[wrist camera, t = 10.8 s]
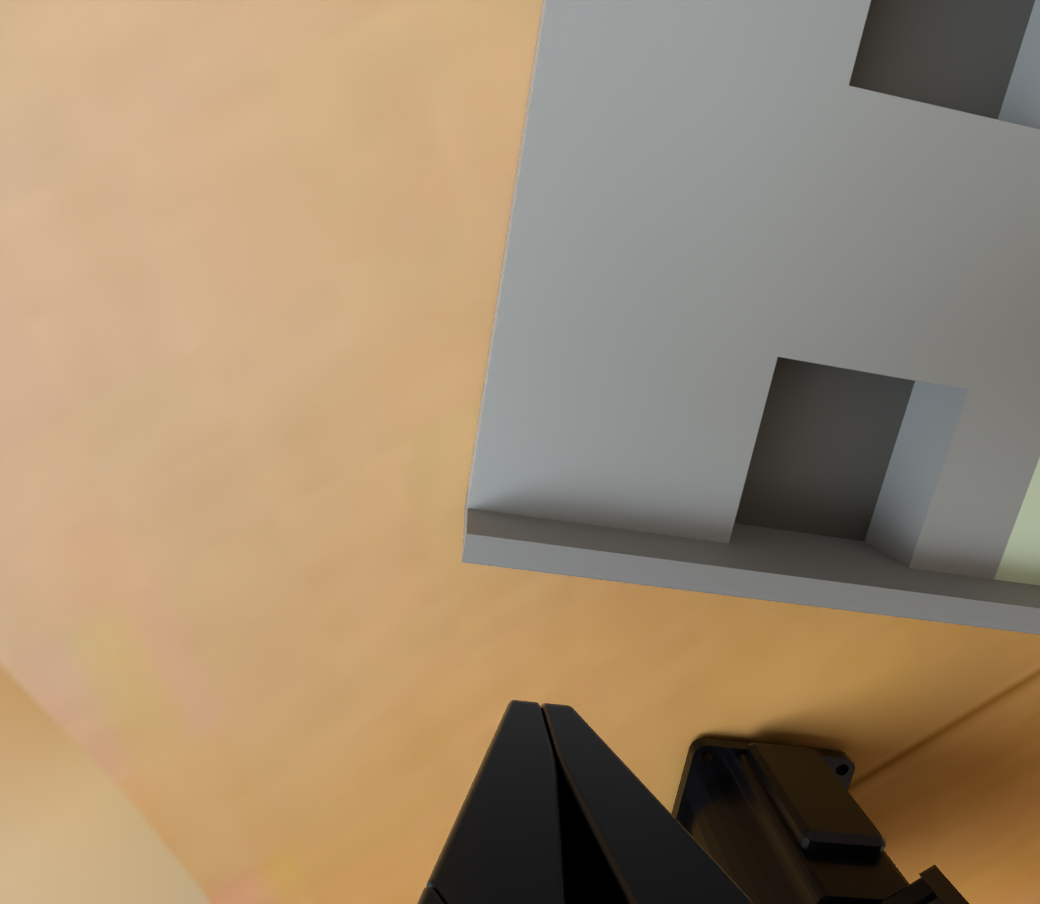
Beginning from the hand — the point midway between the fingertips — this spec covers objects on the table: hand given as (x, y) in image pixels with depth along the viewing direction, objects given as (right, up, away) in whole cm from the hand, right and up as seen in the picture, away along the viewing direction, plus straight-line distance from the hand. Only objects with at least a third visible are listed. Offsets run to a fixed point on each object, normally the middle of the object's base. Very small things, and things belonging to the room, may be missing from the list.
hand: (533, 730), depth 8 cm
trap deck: (+11, +10, +11) cm, 19 cm away
